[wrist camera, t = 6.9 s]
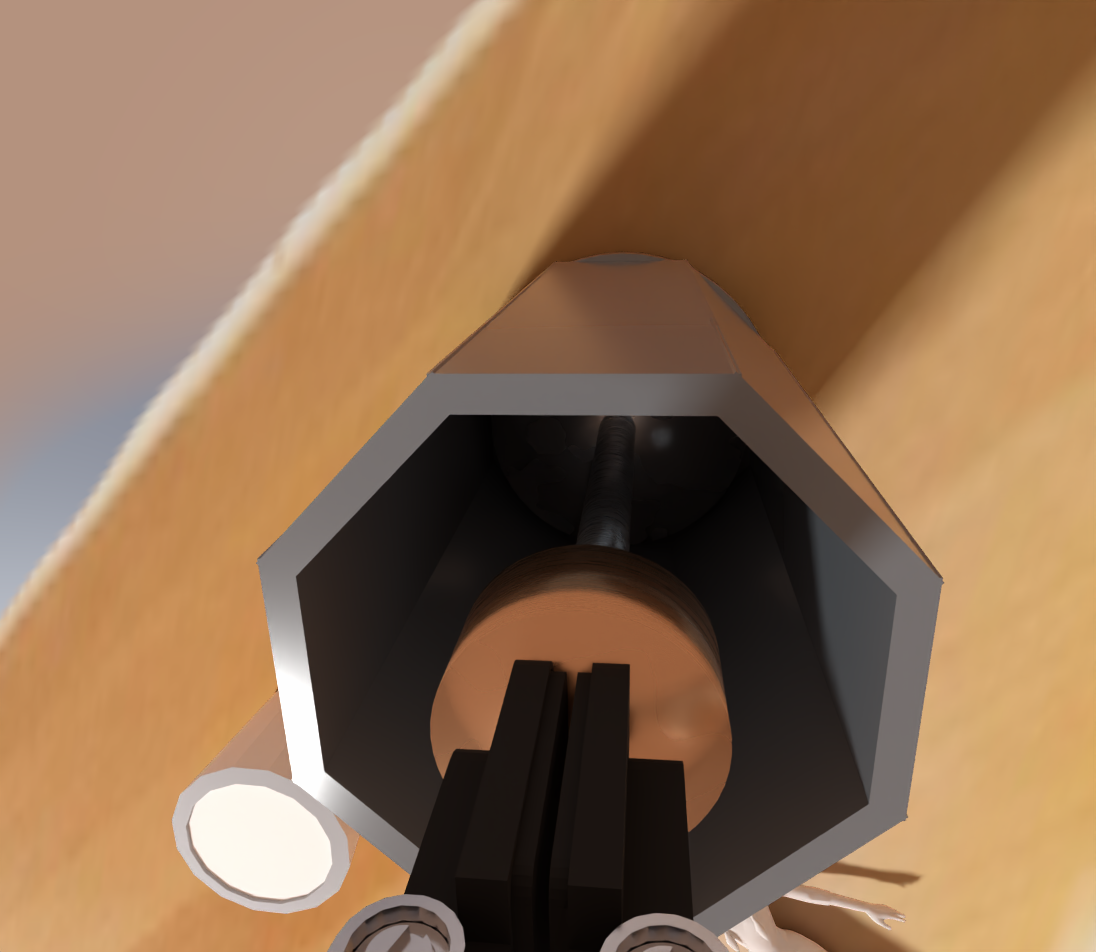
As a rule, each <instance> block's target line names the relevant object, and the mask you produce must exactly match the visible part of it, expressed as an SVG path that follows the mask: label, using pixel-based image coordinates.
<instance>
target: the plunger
mask: <svg viewBox="0 0 1096 952" xmlns="http://www.w3.org/2000/svg"><path fill="white" fill-rule="evenodd" d="M492 432H493V440H494V446H495V450H496V454H497V458H498V460H499V463H500V465H501V468H502V470H503V473H504V475H505V477H506V478H507V480H508V482H509V484H510V486H511V487H512V488H513V490H514V491H515V493H516V494H517V495H518V497H519V498H520V499H521V500H522V501H523V502H524V503H525V505H526V506H527V507H528V508H529V509H530V510H531V511H532V512H534V513H535V514H536V515H537V516H539V517H540V518H541V519H542V520H544V521H545V522H547V523H548V524H550V525H551V526H553V527H555V528H556V529H558V530H560V531H562V532H565V533H567V534H569V535H571V536H574V537H577V542H576V545H565V546H559V547H553V548H549V549H546V550H542V551H539V552H535V553H533V554H531V555H528V556H526V557H524V558H522V559H520V560H518V561H516V562H515V563H513V564H511V565H510V566H508V567H506V568H505V569H504V570H503V571H501V572H500V573H499V574H498V575H496V576H495V577H494V578H493V579H492V580H491V581H490V582H489V583H488V584H487V586H486V587H485V588H484V589H483V590H482V592H481V593H480V595H479V596H478V597H477V599H476V600H475V602H474V604H473V606H472V608H471V610H470V612H469V615H468V617H467V619H466V622H465V624H464V627H463V629H462V631H461V634H460V636H459V639H458V641H457V644H456V646H455V648H454V651H453V653H452V656H451V658H450V660H449V663H448V665H447V668H446V670H445V673H444V675H443V677H442V680H441V682H440V685H439V687H438V689H437V693H436V696H435V699H434V702H433V706H432V713H431V720H430V736H431V743H432V749H433V754H434V757H435V760H436V764H437V767H438V769H439V772H440V774H441V776H442V778H444V775H445V772H446V769H447V766H448V763H449V761H450V758H451V756H452V753H453V751H454V750H456V749H473V750H490V747H491V744H492V740H493V736H494V733H495V729H496V726H497V722H498V718H499V715H500V711H501V707H502V704H503V700H504V696H505V693H506V689H507V686H508V682H509V678H510V675H511V671H512V667H513V664H514V661H515V660H541V661H552V662H553V666H554V671H563V672H567V687H568V735H569V730H570V723H571V716H572V709H573V701H574V694H575V687H576V680H577V674H578V672H587V673H591V672H592V664H593V663H614V664H630V726H629V758H640V759H658V760H677V761H683V764H684V776H685V792H686V808H687V824H688V832H689V831H691V830H692V829H693V828H694V827H696V826H697V825H698V824H699V823H700V822H701V821H702V819H703V818H704V817H705V816H706V815H707V814H708V813H709V812H710V810H711V809H712V807H713V806H714V804H715V803H716V802H717V800H718V798H719V796H720V794H721V792H722V790H723V788H724V786H725V783H726V780H727V777H728V774H729V770H730V764H731V757H732V735H731V729H730V722H729V715H728V709H727V702H726V695H725V689H724V682H723V675H722V668H721V662H720V655H719V649H718V643H717V638H716V635H715V632H714V629H713V626H712V623H711V621H710V619H709V617H708V615H707V613H706V611H705V609H704V608H703V606H702V605H701V603H700V602H699V600H698V599H697V598H696V596H695V595H694V594H693V593H692V592H691V591H690V589H689V588H688V587H687V586H686V585H685V584H684V583H683V582H682V581H681V580H679V579H678V578H677V577H676V576H674V575H673V574H672V573H671V572H670V571H668V570H666V569H665V568H663V567H662V566H660V565H658V564H657V563H655V562H653V561H651V560H649V559H647V558H645V557H643V556H640V555H638V554H635V553H632V552H629V549H630V545H631V544H639V543H645V542H650V541H654V540H657V539H661V538H664V537H667V536H669V535H672V534H674V533H676V532H679V531H680V530H682V529H684V528H686V527H687V526H689V525H691V524H693V523H694V522H695V521H697V520H698V519H699V518H701V517H702V516H703V515H705V514H706V513H707V512H708V511H709V510H710V509H711V508H712V507H713V506H714V505H715V504H716V503H717V502H718V501H719V499H720V498H721V497H722V495H723V494H724V493H725V492H726V490H727V489H728V487H729V485H730V484H731V482H732V480H733V479H734V477H735V475H736V472H737V470H738V468H739V465H740V463H741V460H742V457H743V453H744V449H745V445H746V444H745V443H744V442H743V441H742V440H741V439H740V438H739V437H738V436H737V435H736V434H735V433H734V432H733V431H732V430H731V429H730V428H729V427H728V426H727V425H726V424H725V423H724V422H723V421H722V420H721V419H720V418H719V417H718V416H617V415H492Z"/></svg>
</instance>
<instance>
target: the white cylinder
mask: <svg viewBox="0 0 1096 952" xmlns="http://www.w3.org/2000/svg"><path fill="white" fill-rule="evenodd" d="M292 778H293V776H292V770H291V763H290V757H289V751H288V745H287V739H286V733H285V726H284V720H283V714H282V708H281V702H280V696H279V690H278V691H277V692H275V693H274V694H273V696H272V697H271V698H270V699H269V700H268V701H267V702H266V703H265V704H264V705H263V706H262V707H261V708H260V709H259V711H258V712H257V713H256V714H255V715H254V716H253V717H252V718H251V719H250V720H249V721H248V722H247V723H246V724H245V726H244V727H243V728H242V729H241V730H240V731H239V732H238V733H237V734H236V735H235V736H234V737H233V738H232V739H231V741H230V742H229V743H228V744H227V745H226V746H225V747H224V748H223V749H222V750H221V751H220V752H219V753H218V754H217V756H216V757H215V758H214V759H213V760H212V761H211V762H210V763H209V764H208V765H207V766H206V767H205V768H204V769H203V771H202V772H201V773H200V774H199V775H198V776H197V777H196V778H195V779H194V780H193V781H192V782H191V783H190V784H189V786H188V787H187V788H186V789H185V790H184V791H183V792H182V793H181V794H180V796H179V799H178V803H177V806H176V809H175V812H174V815H173V818H172V824H173V829H174V835H175V840H176V846H177V849H178V851H179V852H180V854H181V855H182V857H183V858H184V860H185V861H186V863H187V864H188V866H189V867H190V869H191V871H192V872H193V874H194V875H195V876H196V877H198V878H199V879H200V880H201V881H203V882H204V883H205V884H206V885H207V886H209V887H210V888H211V889H212V890H214V891H215V892H216V893H217V894H219V895H220V896H221V897H224V898H226V899H228V900H231V901H233V902H236V903H238V904H240V905H243V906H245V907H248V908H250V909H252V910H258V911H267V912H276V913H285V914H287V913H292V912H296V911H301V910H305V909H310V908H314V907H317V906H319V905H320V904H321V903H323V902H324V901H325V900H327V899H328V898H330V897H331V896H332V895H334V894H335V893H336V892H338V891H339V889H340V887H341V885H342V883H343V881H344V878H345V876H346V874H347V872H348V869H349V867H350V864H351V861H352V858H353V855H354V852H355V848H356V845H357V842H358V839H359V836H360V834H359V833H357V832H356V831H355V830H354V829H352V828H351V827H350V826H349V825H347V824H346V823H345V822H344V821H342V820H341V819H340V818H339V817H337V816H336V815H335V814H334V813H332V812H331V811H330V810H329V809H327V808H326V807H325V806H324V805H323V804H321V803H320V802H319V801H318V800H316V799H315V798H314V797H313V796H311V795H310V794H309V793H308V792H306V791H305V790H304V789H303V788H301V787H300V786H299V785H298V784H296V783H294V782H293V780H291V779H292Z"/></svg>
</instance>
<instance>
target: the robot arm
mask: <svg viewBox="0 0 1096 952" xmlns="http://www.w3.org/2000/svg"><path fill="white" fill-rule="evenodd" d="M629 726H630V664H614V663H593V664H592V672H591V673H587V672H578V674H577V680H576V687H575V694H574V701H573V709H572V716H571V723H570V730H569V735H568V687H567V672H563V671H554V666H553V662H552V661H541V660H515V661H514V664H513V667H512V671H511V675H510V678H509V682H508V686H507V689H506V693H505V696H504V700H503V704H502V707H501V711H500V715H499V718H498V722H497V726H496V729H495V733H494V736H493V740H492V744H491V747H490V750H473V749H456V750H454V751H453V753H452V756H451V758H450V761H449V763H448V766H447V769H446V772H445V775H444V778H443V781H442V784H441V787H440V790H439V793H438V796H437V799H436V802H435V805H434V808H433V811H432V813H431V816H430V819H429V822H428V825H427V828H426V831H425V834H424V837H423V840H422V843H421V846H420V849H419V852H418V855H417V858H416V861H415V863H414V866H413V869H412V872H411V875H410V878H409V881H408V884H407V887H406V890H405V893H404V895H398V896H393V897H388V898H384V899H382V900H379V901H377V902H375V903H373V904H371V905H368V906H366V907H365V908H363V909H362V910H361V911H360V912H358V913H357V914H356V915H354V916H353V917H352V918H350V919H349V920H348V922H347V923H346V924H345V926H344V927H343V928H342V929H341V931H340V932H339V933H338V934H337V936H336V937H335V939H334V941H333V943H332V944H331V946H330V948H329V949H328V951H327V952H729V951H728V949H727V948H726V947H725V946H724V945H723V944H722V942H721V941H720V940H719V939H718V938H717V937H716V936H715V934H714V933H712V932H711V931H709V930H708V929H706V928H705V927H703V926H702V925H700V924H699V923H697V922H695V921H694V920H693V904H692V888H691V872H690V856H689V840H688V824H687V808H686V792H685V776H684V764H683V761H677V760H658V759H640V758H629Z"/></svg>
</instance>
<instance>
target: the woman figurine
mask: <svg viewBox="0 0 1096 952" xmlns="http://www.w3.org/2000/svg"><path fill="white" fill-rule="evenodd" d="M784 896H785V897H789V898H793V899H796V900H800V901H804V902H808V903H814V904H820V905H827V906H829V905H834V906H839V907H843V908H848V909H852V910H857V911H862V912H866V913H867V915H868V916H869V917H870V918H871V919H872V920H873V921H875V922H876V923H877V924H879V925H881V926H883V927H885V928H886V929H888V930H891V927H890V926H888V925H887V924H885V923H884V921H883V920H884V919H894V920H898V921H901V922H905V921H906V920H904V919H903V918H905V917H906V916H905V915H904V914H902V913H900V912H898V911H896V910H895V909H892V908H891V907H888V906H886V905H883V904H873V903H867V902H864V901H860V900H856V899H853V898H849V897H845V896H842V895H838V894H835V893H831V892H829V891H827V890H823V889H820V888H816V887H810V886H803V885H799V886H798V887H796V888H795V889H793V890H791V891H790V892H788V893H787V894H785V895H784ZM901 917H902V918H901ZM724 934H725V937H726V942H727V944H728V945H730V946H731V947H732V948H733V949H734V950H735V951H737V952H739V947H738V945H737V943H736V942H738V943H739V944H741V945H743V946H744V947H746V948H747V949H748V952H827V951H826V950H825V949H823V948H822V947H821V946H819V945H818V944H817V943H815V942H813V941H812V940H810V939H808V938H806V937H804V936H803V935H801V934H799V933H796V932H794V931H792V930H785V929H780V928H778V927H777V926H776V925H775V922H774V920H773V917H772V915H771V912H770V910H769V906H766V907H764V908H763V909H761V910H760V911H758V912H756V913H755V914H753V915H752V916H750V917H749V918H747V919H745V920H744V921H742V922H741V923H739V924H737V925H736V926H734V927H733V928H731V929H729V930H728V931H726V932H725V933H724Z"/></svg>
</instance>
